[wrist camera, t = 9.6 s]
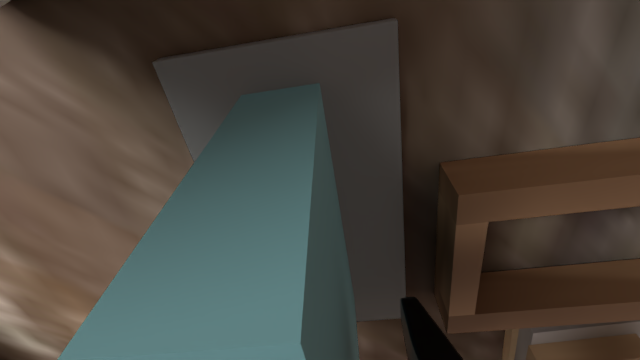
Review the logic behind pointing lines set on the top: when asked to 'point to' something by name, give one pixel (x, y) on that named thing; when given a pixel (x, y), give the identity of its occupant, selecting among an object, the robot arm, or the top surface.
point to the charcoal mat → (342, 126)
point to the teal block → (239, 251)
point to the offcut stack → (574, 342)
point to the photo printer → (3, 2)
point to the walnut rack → (526, 202)
